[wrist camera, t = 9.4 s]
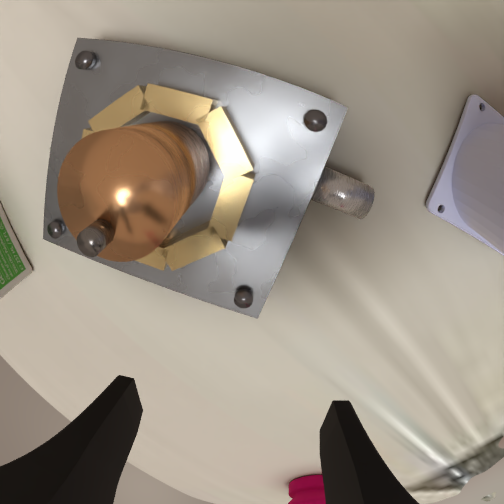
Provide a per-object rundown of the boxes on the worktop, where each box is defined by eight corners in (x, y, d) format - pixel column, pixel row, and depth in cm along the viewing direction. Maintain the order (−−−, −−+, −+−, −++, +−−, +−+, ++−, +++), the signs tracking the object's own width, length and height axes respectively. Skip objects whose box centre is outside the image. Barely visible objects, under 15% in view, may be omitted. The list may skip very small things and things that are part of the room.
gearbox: (386, 131, 15) (414, 137, 12) (303, 308, 20) (307, 346, 17) (100, 44, 14) (64, 34, 10) (64, 224, 19) (32, 246, 15)
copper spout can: (138, 109, 13) (53, 116, 7) (224, 140, 14) (186, 163, 8) (114, 191, 15) (34, 244, 9) (191, 223, 15) (143, 297, 9)
